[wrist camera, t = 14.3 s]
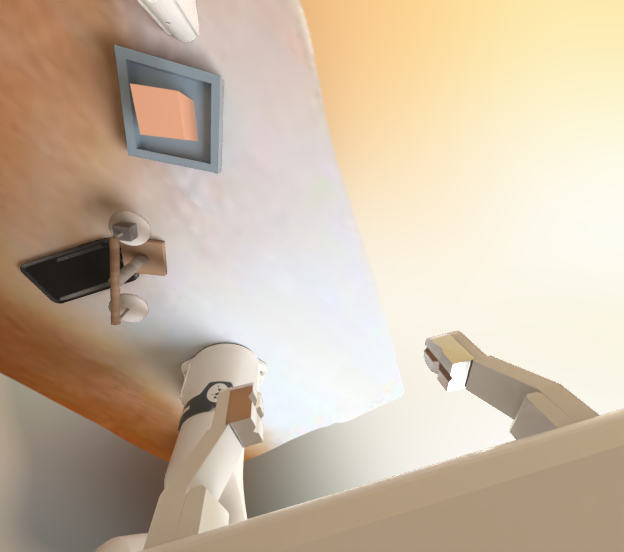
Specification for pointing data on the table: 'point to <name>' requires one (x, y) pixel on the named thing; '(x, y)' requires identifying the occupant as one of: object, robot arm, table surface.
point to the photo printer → (174, 17)
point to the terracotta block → (164, 113)
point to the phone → (73, 271)
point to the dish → (187, 81)
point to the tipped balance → (132, 263)
